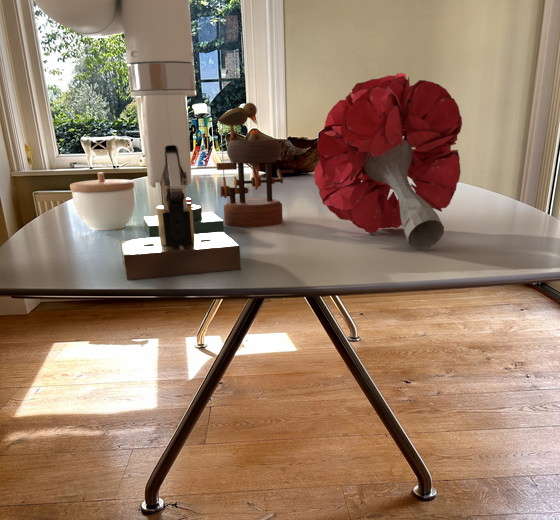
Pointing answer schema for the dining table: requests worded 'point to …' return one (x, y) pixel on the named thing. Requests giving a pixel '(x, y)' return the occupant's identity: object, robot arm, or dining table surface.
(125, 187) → the trinket box
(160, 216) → the golden brown short cylinder
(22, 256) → the dining table surface
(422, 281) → the dining table surface
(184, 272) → the panel
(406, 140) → the bouquet
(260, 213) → the wooden bird automaton
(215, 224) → the button block
